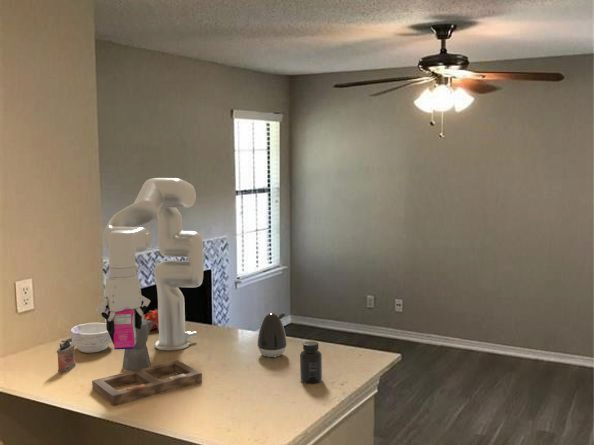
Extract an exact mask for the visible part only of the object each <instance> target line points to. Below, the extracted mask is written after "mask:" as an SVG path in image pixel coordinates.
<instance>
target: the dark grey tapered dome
mask: <svg viewBox="0 0 594 445" xmlns="http://www.w3.org/2000/svg"><path fill="white" fill-rule="evenodd" d="M285 316H286V313H284V312H282V313H281V314H280V315H278V314H276V313H275V312H270V313H269V312H268V313H267V314H266V315H264V317H263V319H262V322H261V324H260V327H259V331H258V335H257V336H258V337H257V347H258V350H259V353H260V354H261V355H262V356H264V357H266V356H267V357H266V358H270V357H274V358H276V357H275V356H278V357H280V356H281V355H283V354H284V353H285V350H286V348H287V336H286V331H285V328H284V325H283V322H282V320H281V319H283V318H284V317H285Z"/></svg>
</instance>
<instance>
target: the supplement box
mask: <svg viewBox="0 0 594 445" xmlns="http://www.w3.org/2000/svg"><path fill="white" fill-rule="evenodd" d="M135 314H136V313H135V309H131V310H126V311H121V312H116V313H115V315H114V317H113V319H112V320H113V321H114V344H113V349H114V350H125V349H134V347H135V345H136V326H135Z"/></svg>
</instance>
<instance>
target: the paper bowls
mask: <svg viewBox="0 0 594 445" xmlns="http://www.w3.org/2000/svg"><path fill="white" fill-rule="evenodd" d="M70 338H72V342H70V344H75V347H76V348H77V350H78V351H79V352H82V353H87V354H90V353H91V354H92V353H100V352H102V351H105V350H106V349H107V348H109V345H110V344H111V343H113V342H112V340H111V337H110V335H109V333H108V331H107V328H106V322H105V323H104V322H88V323H83V324H82V323H81V324H78V325H75V326H73V327H72V328H71V329H70Z"/></svg>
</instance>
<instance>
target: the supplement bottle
mask: <svg viewBox="0 0 594 445" xmlns="http://www.w3.org/2000/svg"><path fill="white" fill-rule="evenodd" d="M319 349H320V347H319V342H318V341H313V340H312V341H311V340H308V341H304V342H303V344H302V351H301V352H300V355H299V358H300V359H299V367H300V371H299V373H300V376H299V377H300V381H301V382H302V381H303V382H302V383H304V382H306V383H305V384H309V383H313V384H318V383H320V382H321V381H322V379H323V356H322V355H323V354H322V352H321V351H320V350H319Z"/></svg>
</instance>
